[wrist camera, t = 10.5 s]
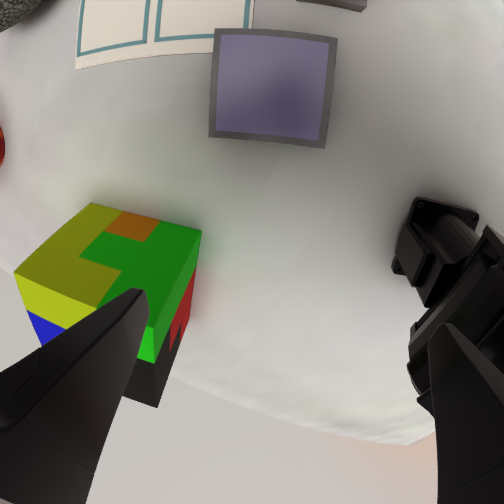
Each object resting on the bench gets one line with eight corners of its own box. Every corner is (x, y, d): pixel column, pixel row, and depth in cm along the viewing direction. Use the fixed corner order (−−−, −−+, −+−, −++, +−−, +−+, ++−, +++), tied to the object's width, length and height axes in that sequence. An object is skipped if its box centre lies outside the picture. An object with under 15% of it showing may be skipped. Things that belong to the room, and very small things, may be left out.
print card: (259, -49, 10) (258, -51, 10) (249, 53, 15) (249, 53, 14) (85, -19, 11) (82, -20, 11) (76, 69, 15) (74, 69, 15)
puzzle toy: (99, 290, 27) (50, 363, 19) (91, 202, 22) (13, 272, 13) (189, 319, 27) (157, 408, 19) (202, 230, 22) (153, 328, 14)
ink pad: (334, 41, 14) (338, 37, 12) (322, 144, 17) (325, 150, 16) (219, 31, 14) (213, 27, 13) (213, 133, 18) (206, 138, 16)
